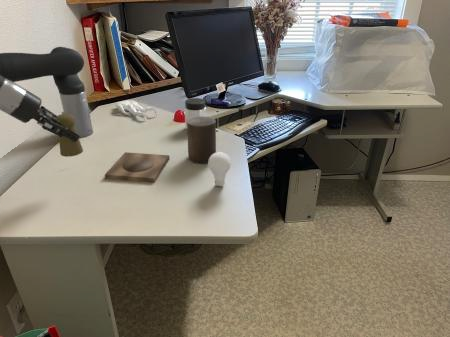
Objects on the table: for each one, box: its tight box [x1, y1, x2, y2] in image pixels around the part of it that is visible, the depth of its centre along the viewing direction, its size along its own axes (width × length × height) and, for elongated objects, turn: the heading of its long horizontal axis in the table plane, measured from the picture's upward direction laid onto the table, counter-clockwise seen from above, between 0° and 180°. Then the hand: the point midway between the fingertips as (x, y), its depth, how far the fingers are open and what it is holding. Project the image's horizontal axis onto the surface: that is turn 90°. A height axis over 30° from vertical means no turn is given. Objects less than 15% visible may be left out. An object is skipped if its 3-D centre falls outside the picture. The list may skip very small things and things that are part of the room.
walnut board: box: [104, 151, 170, 183], centre depth 113 cm, size 16×16×2 cm
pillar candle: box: [186, 116, 217, 165], centre depth 117 cm, size 10×10×15 cm
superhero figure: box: [115, 99, 159, 122], centre depth 160 cm, size 12×6×25 cm
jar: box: [184, 97, 207, 130], centre depth 141 cm, size 9×8×12 cm
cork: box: [55, 113, 84, 158], centre depth 95 cm, size 6×6×11 cm
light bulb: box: [207, 151, 232, 187], centre depth 101 cm, size 7×7×11 cm
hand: (75, 135), depth 97 cm, fingers closed on cork, 4 cm apart
